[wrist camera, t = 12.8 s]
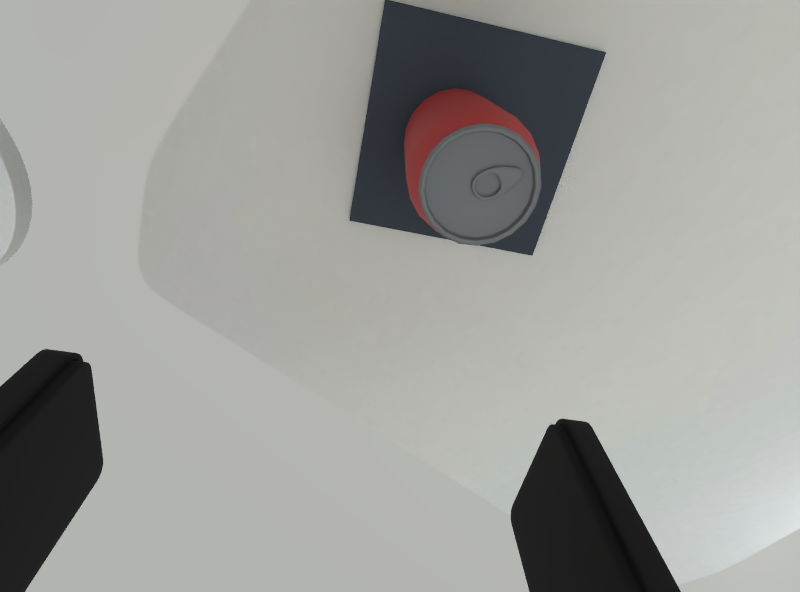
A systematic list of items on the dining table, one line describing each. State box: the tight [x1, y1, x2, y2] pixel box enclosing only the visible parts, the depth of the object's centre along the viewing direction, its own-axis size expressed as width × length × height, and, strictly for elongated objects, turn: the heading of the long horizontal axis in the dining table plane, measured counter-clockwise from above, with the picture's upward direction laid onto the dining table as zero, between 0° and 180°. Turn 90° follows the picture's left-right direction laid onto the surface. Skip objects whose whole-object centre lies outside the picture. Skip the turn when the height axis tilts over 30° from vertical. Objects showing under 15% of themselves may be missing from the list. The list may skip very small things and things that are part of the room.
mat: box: [350, 0, 606, 255], centre depth 32 cm, size 14×14×1 cm
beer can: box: [404, 88, 541, 246], centre depth 27 cm, size 7×7×12 cm
